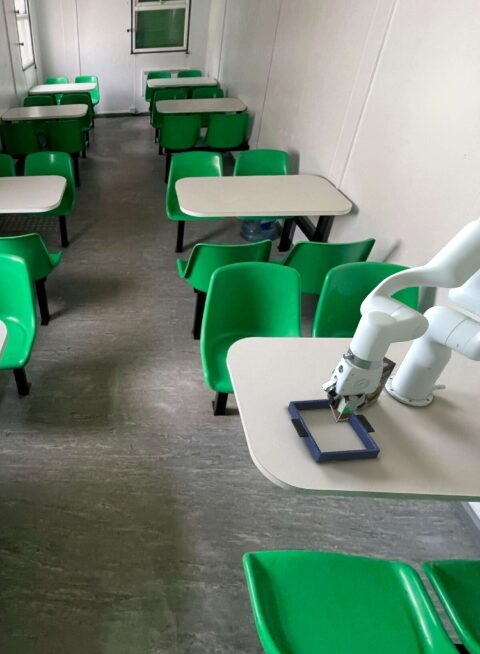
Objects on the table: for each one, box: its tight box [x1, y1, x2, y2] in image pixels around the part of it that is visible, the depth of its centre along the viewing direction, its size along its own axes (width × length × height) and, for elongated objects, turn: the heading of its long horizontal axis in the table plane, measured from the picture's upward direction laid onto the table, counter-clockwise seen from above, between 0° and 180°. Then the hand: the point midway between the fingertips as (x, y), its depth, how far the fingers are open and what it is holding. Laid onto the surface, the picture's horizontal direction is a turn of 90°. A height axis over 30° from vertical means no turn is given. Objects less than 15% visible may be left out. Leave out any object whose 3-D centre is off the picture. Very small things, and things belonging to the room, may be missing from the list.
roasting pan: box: [287, 398, 382, 463], centre depth 121 cm, size 21×19×4 cm
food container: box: [326, 368, 365, 424], centre depth 114 cm, size 12×6×10 cm, turn 172°
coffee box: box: [355, 356, 397, 412], centre depth 127 cm, size 9×6×16 cm
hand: (343, 404), depth 115 cm, fingers closed on food container, 5 cm apart
